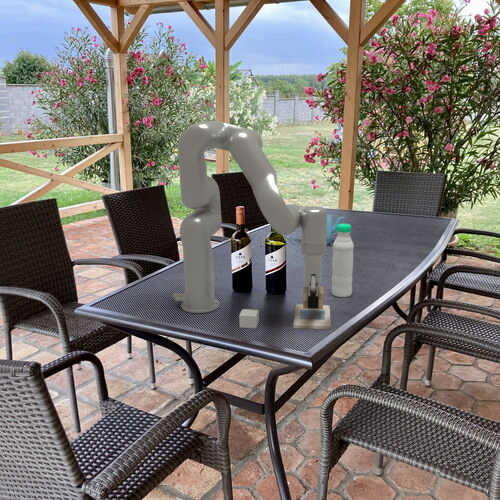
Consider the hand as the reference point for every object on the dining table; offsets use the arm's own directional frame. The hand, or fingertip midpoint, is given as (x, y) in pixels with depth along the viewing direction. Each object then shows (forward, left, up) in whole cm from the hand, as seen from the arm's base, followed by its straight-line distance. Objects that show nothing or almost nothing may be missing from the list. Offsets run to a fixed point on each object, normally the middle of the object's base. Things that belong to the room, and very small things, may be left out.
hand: (313, 303), depth 161 cm
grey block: (-19, -7, -5) cm, 21 cm away
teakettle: (+2, +94, -5) cm, 94 cm away
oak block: (0, 0, -1) cm, 1 cm away
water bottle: (+10, +22, -5) cm, 25 cm away
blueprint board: (0, 0, -5) cm, 5 cm away
